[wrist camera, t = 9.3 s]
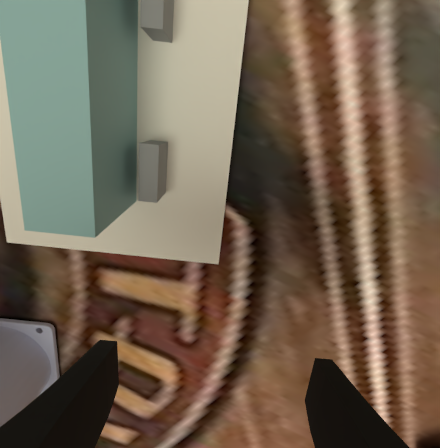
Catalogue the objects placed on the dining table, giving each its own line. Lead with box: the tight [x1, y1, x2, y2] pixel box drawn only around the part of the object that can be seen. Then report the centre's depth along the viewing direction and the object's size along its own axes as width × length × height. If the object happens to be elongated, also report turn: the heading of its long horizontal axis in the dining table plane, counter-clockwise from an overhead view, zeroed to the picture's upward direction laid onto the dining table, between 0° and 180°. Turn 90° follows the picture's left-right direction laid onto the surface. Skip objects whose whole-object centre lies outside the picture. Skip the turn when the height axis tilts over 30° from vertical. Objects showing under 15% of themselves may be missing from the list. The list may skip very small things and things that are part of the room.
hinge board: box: [0, 0, 249, 264], centre depth 15 cm, size 14×20×4 cm
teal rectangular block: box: [0, 0, 138, 238], centre depth 13 cm, size 3×12×6 cm, turn 174°
